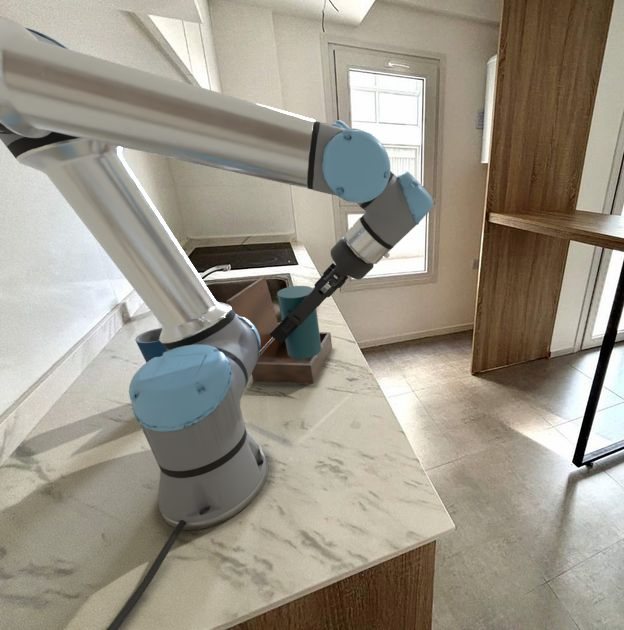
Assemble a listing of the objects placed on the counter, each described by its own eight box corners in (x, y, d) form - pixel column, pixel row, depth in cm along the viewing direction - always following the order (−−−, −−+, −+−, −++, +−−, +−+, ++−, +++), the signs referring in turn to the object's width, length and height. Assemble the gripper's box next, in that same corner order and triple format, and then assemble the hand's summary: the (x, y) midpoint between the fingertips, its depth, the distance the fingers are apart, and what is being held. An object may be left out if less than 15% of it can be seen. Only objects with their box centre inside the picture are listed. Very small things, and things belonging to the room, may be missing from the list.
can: (305, 362, 64) (295, 300, 58) (280, 354, 67) (269, 294, 61) (328, 347, 69) (321, 289, 64) (304, 340, 72) (295, 283, 66)
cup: (151, 395, 75) (128, 337, 68) (183, 380, 80) (164, 325, 74) (168, 405, 72) (146, 346, 66) (200, 388, 77) (181, 332, 71)
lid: (265, 276, 85) (262, 276, 85) (229, 300, 70) (226, 301, 70) (279, 329, 92) (276, 329, 92) (250, 361, 77) (246, 362, 77)
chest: (332, 350, 94) (330, 332, 92) (313, 385, 79) (311, 365, 77) (281, 348, 94) (278, 330, 92) (253, 384, 79) (248, 363, 77)
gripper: (366, 283, 51) (279, 368, 58) (382, 252, 69) (313, 320, 76) (328, 248, 49) (242, 341, 56) (355, 225, 67) (287, 298, 74)
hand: (283, 329), depth 66 cm, fingers closed on can, 7 cm apart
